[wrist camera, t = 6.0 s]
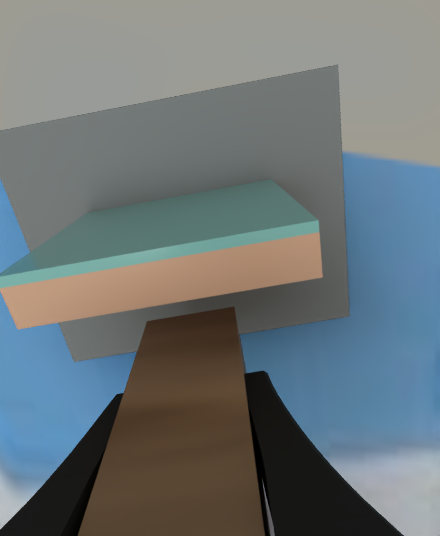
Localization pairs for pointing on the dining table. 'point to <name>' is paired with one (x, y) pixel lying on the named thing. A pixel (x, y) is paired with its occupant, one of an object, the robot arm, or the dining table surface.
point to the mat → (191, 186)
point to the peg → (182, 438)
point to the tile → (165, 254)
